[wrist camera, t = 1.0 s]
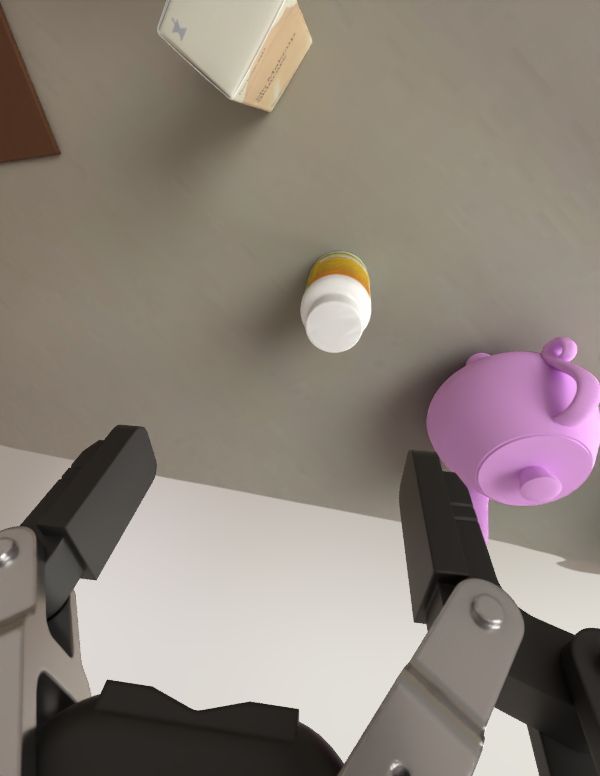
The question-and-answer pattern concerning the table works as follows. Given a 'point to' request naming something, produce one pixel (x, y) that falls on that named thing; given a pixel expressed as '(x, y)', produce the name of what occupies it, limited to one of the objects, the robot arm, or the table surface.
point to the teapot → (518, 426)
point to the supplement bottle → (336, 302)
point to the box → (239, 44)
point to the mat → (20, 106)
